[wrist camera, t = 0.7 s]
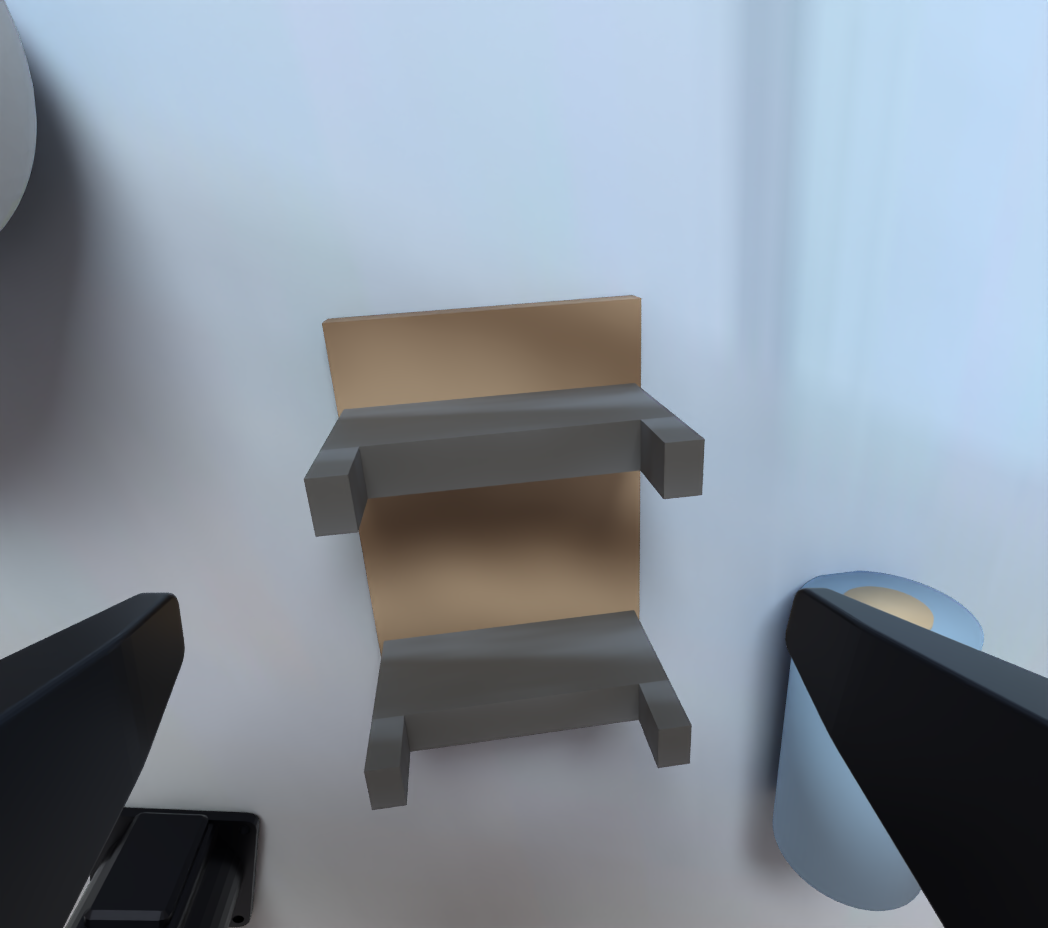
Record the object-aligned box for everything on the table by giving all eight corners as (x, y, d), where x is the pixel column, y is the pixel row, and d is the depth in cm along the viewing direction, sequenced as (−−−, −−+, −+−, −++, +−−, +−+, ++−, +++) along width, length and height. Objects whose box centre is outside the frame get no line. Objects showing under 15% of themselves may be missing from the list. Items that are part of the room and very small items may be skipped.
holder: (631, 679, 26) (692, 827, 20) (396, 711, 26) (378, 875, 19) (632, 295, 21) (718, 324, 14) (327, 318, 20) (269, 362, 13)
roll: (865, 778, 31) (959, 901, 25) (749, 796, 30) (818, 925, 24) (905, 559, 26) (1031, 648, 20) (769, 575, 26) (860, 671, 20)
